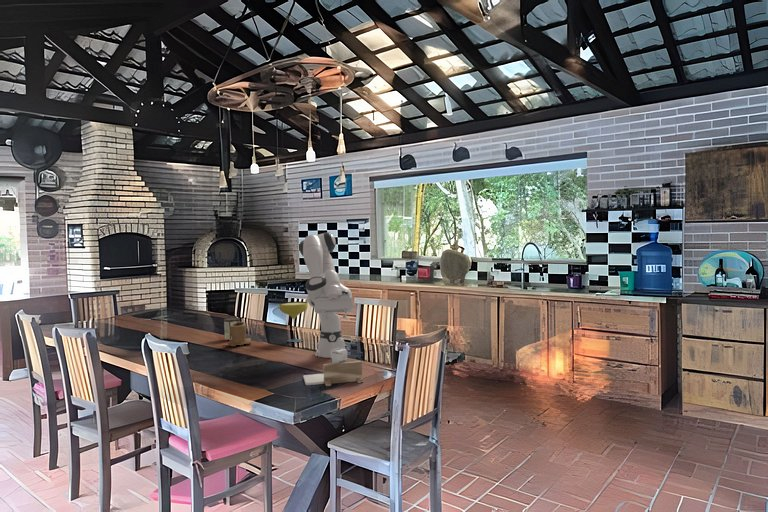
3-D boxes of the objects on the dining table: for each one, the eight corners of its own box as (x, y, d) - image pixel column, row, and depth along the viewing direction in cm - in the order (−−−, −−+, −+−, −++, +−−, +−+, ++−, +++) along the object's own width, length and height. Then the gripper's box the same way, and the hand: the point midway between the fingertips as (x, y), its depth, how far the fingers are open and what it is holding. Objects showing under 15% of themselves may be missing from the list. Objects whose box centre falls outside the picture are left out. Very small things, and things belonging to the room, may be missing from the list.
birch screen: (323, 383, 244) (323, 364, 244) (361, 379, 249) (361, 361, 248) (325, 386, 240) (324, 366, 239) (363, 382, 244) (363, 363, 244)
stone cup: (231, 348, 323) (230, 324, 322) (226, 345, 333) (225, 322, 333) (255, 345, 331) (254, 322, 330) (249, 342, 341) (248, 319, 340)
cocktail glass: (284, 338, 349) (282, 301, 348) (310, 338, 349) (309, 301, 348) (277, 344, 331) (276, 305, 330) (305, 344, 331) (304, 305, 329)
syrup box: (339, 376, 254) (338, 347, 254) (348, 378, 251) (347, 349, 250) (330, 379, 250) (330, 349, 249) (339, 381, 246) (338, 351, 245)
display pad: (303, 377, 255) (303, 375, 255) (323, 375, 258) (323, 373, 257) (305, 385, 242) (305, 383, 242) (327, 383, 244) (327, 381, 244)
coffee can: (233, 337, 358) (232, 317, 358) (243, 338, 353) (242, 318, 352) (221, 340, 350) (220, 319, 349) (231, 341, 344) (231, 320, 343)
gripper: (313, 293, 267) (314, 315, 257) (352, 291, 270) (355, 313, 261) (312, 301, 271) (314, 323, 262) (351, 299, 275) (354, 320, 266)
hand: (335, 318), depth 262 cm, fingers open, 8 cm apart
